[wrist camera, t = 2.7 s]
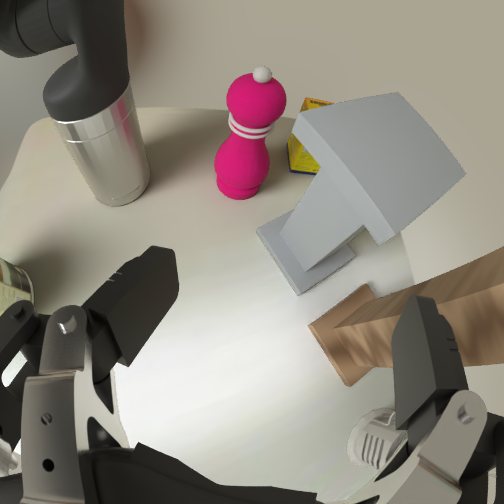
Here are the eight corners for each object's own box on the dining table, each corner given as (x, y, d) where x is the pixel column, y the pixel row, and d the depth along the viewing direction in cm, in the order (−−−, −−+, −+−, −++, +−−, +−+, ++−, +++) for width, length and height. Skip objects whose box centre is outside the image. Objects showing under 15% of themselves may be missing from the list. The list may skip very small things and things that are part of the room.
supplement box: (319, 148, 45) (344, 104, 34) (324, 177, 43) (353, 133, 33) (285, 143, 44) (305, 95, 34) (288, 172, 42) (311, 124, 32)
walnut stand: (304, 327, 34) (603, 212, 3) (372, 276, 38) (578, 146, 7) (342, 387, 32) (616, 397, 1) (404, 331, 36) (618, 263, 5)
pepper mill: (218, 158, 41) (231, 44, 22) (264, 166, 42) (302, 58, 23) (208, 198, 38) (216, 81, 20) (260, 207, 39) (303, 98, 20)
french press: (349, 476, 28) (472, 547, 5) (341, 411, 31) (497, 454, 8) (403, 450, 30) (530, 483, 7) (397, 387, 33) (546, 389, 10)
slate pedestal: (249, 235, 37) (299, 112, 17) (321, 198, 41) (398, 92, 21) (291, 299, 35) (396, 234, 15) (359, 252, 39) (466, 173, 19)
